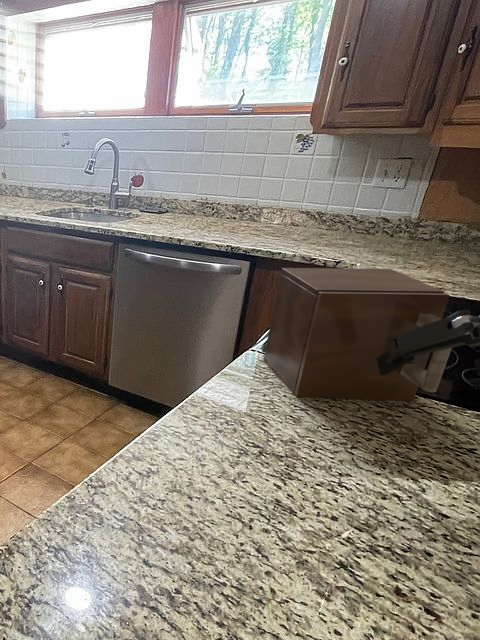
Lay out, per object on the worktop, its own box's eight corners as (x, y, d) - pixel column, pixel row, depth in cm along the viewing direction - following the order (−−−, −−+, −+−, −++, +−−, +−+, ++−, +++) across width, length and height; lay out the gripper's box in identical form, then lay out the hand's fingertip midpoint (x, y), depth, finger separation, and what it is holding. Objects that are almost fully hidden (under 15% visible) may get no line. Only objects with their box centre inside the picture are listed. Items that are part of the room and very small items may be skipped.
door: (440, 421, 78) (482, 308, 71) (313, 416, 80) (342, 306, 73) (409, 398, 85) (445, 292, 78) (293, 394, 87) (318, 291, 80)
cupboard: (408, 398, 85) (444, 291, 78) (293, 394, 87) (317, 290, 80) (362, 363, 98) (390, 268, 91) (262, 360, 100) (281, 267, 93)
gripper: (449, 329, 57) (345, 389, 77) (704, 333, 55) (529, 394, 75) (433, 269, 60) (336, 342, 80) (675, 271, 58) (514, 346, 77)
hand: (429, 368), depth 77 cm, fingers open, 13 cm apart
